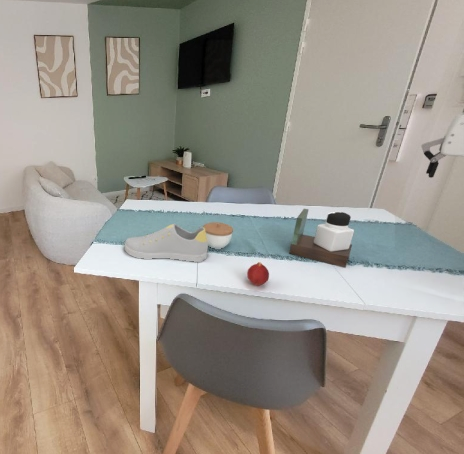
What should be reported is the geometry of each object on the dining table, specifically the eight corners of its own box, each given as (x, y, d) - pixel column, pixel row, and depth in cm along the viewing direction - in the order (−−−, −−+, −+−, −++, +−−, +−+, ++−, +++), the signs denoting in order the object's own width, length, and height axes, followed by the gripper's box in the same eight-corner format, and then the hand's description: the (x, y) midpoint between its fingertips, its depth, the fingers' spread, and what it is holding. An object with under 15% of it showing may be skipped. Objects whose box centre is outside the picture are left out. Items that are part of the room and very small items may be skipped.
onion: (250, 277, 92) (254, 255, 89) (269, 284, 88) (274, 261, 85) (242, 285, 88) (245, 262, 85) (262, 293, 84) (266, 269, 81)
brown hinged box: (348, 254, 101) (360, 217, 96) (345, 267, 94) (357, 228, 88) (295, 242, 111) (303, 208, 106) (289, 253, 104) (297, 217, 99)
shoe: (206, 266, 99) (209, 234, 94) (121, 256, 108) (121, 226, 104) (206, 252, 108) (209, 222, 103) (128, 244, 117) (128, 216, 113)
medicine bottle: (349, 249, 97) (359, 215, 92) (330, 252, 96) (340, 218, 91) (330, 240, 103) (339, 208, 99) (312, 242, 102) (320, 211, 98)
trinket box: (203, 238, 119) (205, 217, 116) (231, 242, 115) (234, 220, 111) (199, 249, 110) (201, 227, 107) (229, 254, 106) (232, 230, 102)
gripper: (544, 105, 66) (507, 179, 72) (433, 108, 77) (410, 172, 83) (557, 107, 61) (515, 186, 67) (436, 109, 72) (411, 177, 78)
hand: (457, 178), depth 75 cm, fingers open, 9 cm apart
